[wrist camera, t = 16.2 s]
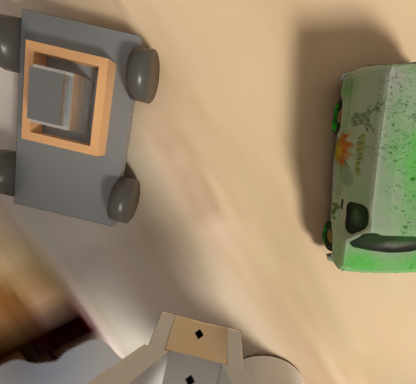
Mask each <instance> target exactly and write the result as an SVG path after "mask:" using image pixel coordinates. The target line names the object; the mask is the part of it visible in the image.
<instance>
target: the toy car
mask: <svg viewBox="0 0 416 384" xmlns="http://www.w3.org/2000/svg"><path fill="white" fill-rule="evenodd" d="M344 76H345V77H344ZM343 79H344V80H343ZM340 81H343V84H342V89H341V96H342V100H340V101H339V102H338V103H337V105H336V108H335V110H334V119H333V121H332V125H333V131H334V132H335V133H338V134H337V139H336V147H335V155H334V164H333V184H332V203H331V222H328V223H326V224H325V226H324V231H323V239H324V243H325V246H326V248H327V249H328V250H330V251H332V253H330V254H326V255H327V258H328V260H329V261H331V262H334V263H335V265H336V266H337V267H338V269H340V270H342V271H351V272H364V273H406V272H416V62H411V63H398V64H381V65H368V66H366V67H361V68H359V69H357V70H355V71H353V72H346V73H344V74H343V75H342V77H341V78H340Z"/></svg>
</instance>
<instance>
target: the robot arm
mask: <svg viewBox="0 0 416 384" xmlns="http://www.w3.org/2000/svg"><path fill="white" fill-rule="evenodd" d="M87 384H305V382H304V380H303V377H302V375H301V374H300V373H299V371H298V370H297V369H296V368H295V367H294V366H292V365H291V364H290V363H288V362H286V361H284V360H282V359H279V358H276V357H271V356H253V357H249V358H245V359H243V354H242V341H241V332H240V330H236V329H232V328H226V327H221V326H217V325H213V324H209V323H205V322H201V321H197V320H194V319H190V318H186V317H183V316H179V315H175V314H171V313H167V312H162V313H161V315H160V317H159V320H158V322H157V325H156V327H155V330H154V332H153V335H152V338H151V340H150V343H149V345H143V346H141V347H140V348H138V349H137V350H135V351H134V352H133V353H131V354H130V355H128V356H127V357H125V358H124V359H122V360H121V361H119V362H118V363H116V364H115V365H113V366H112V367H110V368H109V369H107V370H106V371H104V372H103V373H101V374H100V375H99V376H97V377H96V378H94V379H93V380H91V381H90V382H88V383H87Z"/></svg>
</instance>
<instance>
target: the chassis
mask: <svg viewBox="0 0 416 384" xmlns="http://www.w3.org/2000/svg"><path fill="white" fill-rule="evenodd" d="M143 43H144V41H143V40H142V38H141V37H140V36H137V35H133V34H129V33H124V32H120V31H116V30H112V29H107V28H103V27H99V26H94V25H90V24H86V23H82V22H77V21H73V20H69V19H64V18H60V17H56V16H51V15H47V14H43V13H39V12H34V11H30V10H26V9H22V19H21V18H17V17H13V16H9V15H4V14H0V67H2V68H3V69H5V70H8V71H13V72H17V73H20V74H19V99H18V124H17V149H16V151H12V150H0V193H2V194H6V195H10V196H15V199H14V203H17V204H21V205H25V206H29V207H33V208H38V209H42V210H46V211H50V212H54V213H59V214H63V215H67V216H71V217H75V218H79V219H84V220H88V221H92V222H96V223H100V224H104V225H109V226H113V225H115V224H116V223H117V221H119V222H123V223H128V222H129V221H130V220H131V218H132V217H133V215H134V213H135V210H136V208H137V204H138V201H139V195H140V183H139V181H138V180H134V179H130V178H126V177H124V171H125V164H126V158H127V151H128V144H129V137H130V131H131V124H132V117H133V110H134V104H135V100H136V101H140V102H145V103H151V102H152V101H153V99H154V97H155V94H156V91H157V87H158V82H159V69H160V67H159V57H158V54H157V51H156V50H154V49H150V48H146V47H143ZM33 64H37V65H41V66H45V67H50V68H54V69H58V70H62V71H66V72H71V73H75V74H77V75H79V76H82V77H84V78H86V79H89V80H91V81H93V82H94V84H93V93H92V103H91V112H90V121H89V130H88V131H68V130H64V129H60V128H55V127H51V126H47V125H43V124H39V123H34V122H30V119H29V118H27V105H28V85H29V66H32V67H33Z"/></svg>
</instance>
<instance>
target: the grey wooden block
mask: <svg viewBox="0 0 416 384" xmlns="http://www.w3.org/2000/svg"><path fill="white" fill-rule="evenodd" d="M93 84H94V82H93V81H91V80H89V79H86V78H84V77H82V76H79V75H77V74H75V73H71V72H66V71H62V70H58V69H54V68H50V67H45V66H41V65H37V64H33V67H32V66H29V85H28V105H27V118H29V119H30V122H34V123H39V124H43V125H47V126H51V127H55V128H60V129H64V130H68V131H88V130H89V121H90V112H91V103H92V93H93Z"/></svg>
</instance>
